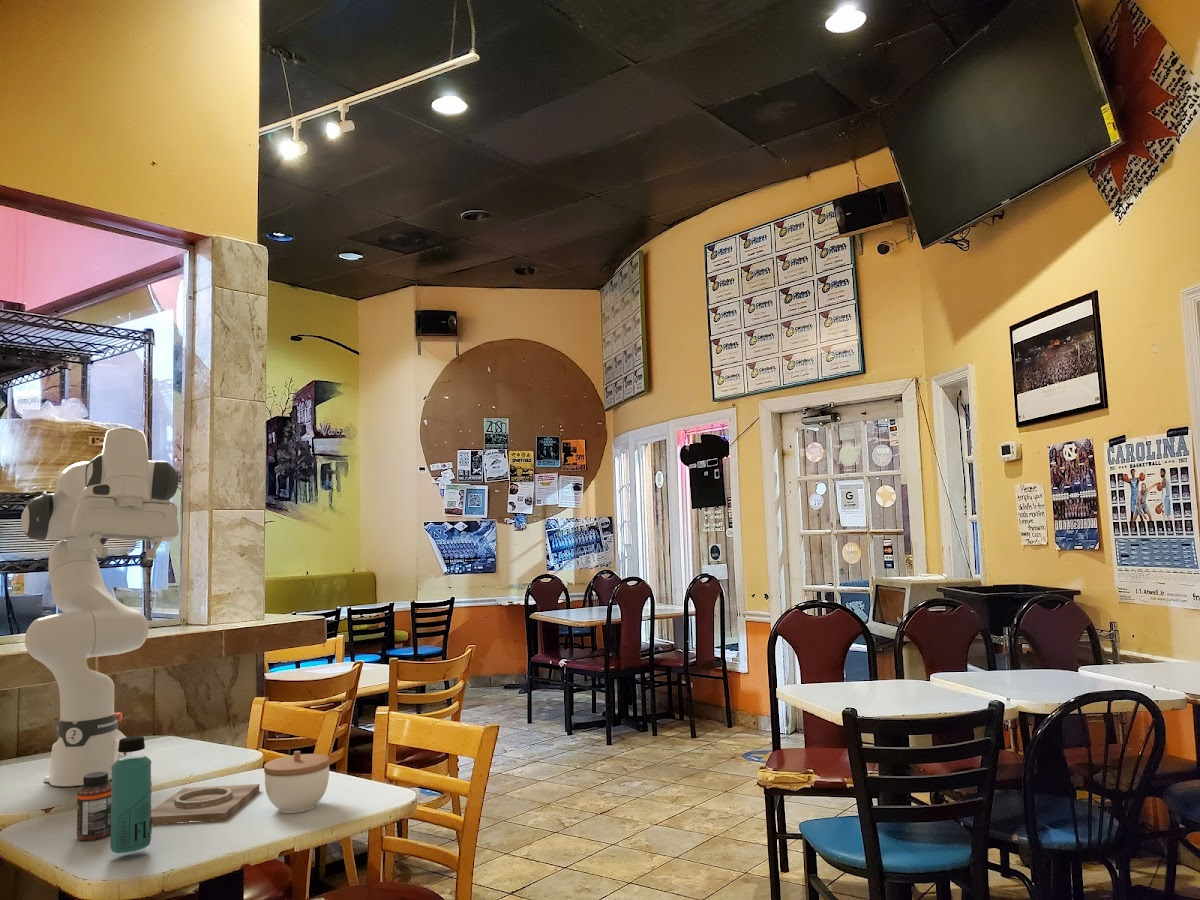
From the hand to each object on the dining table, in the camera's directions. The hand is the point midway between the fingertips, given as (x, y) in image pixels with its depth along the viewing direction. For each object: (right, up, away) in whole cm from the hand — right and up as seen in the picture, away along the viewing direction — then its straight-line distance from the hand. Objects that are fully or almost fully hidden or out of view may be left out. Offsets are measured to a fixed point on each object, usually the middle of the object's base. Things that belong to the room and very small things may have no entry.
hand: (127, 557), depth 181 cm
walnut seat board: (+17, -51, -3) cm, 54 cm away
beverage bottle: (+17, -48, -30) cm, 59 cm away
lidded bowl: (+37, -50, -5) cm, 63 cm away
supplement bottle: (+4, -50, -18) cm, 53 cm away
